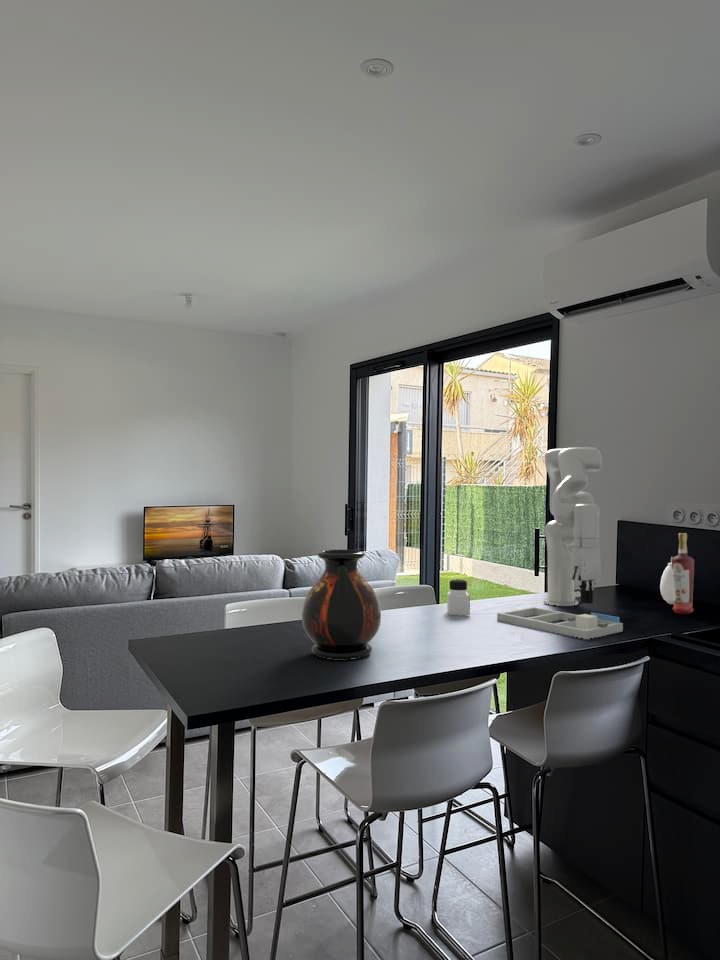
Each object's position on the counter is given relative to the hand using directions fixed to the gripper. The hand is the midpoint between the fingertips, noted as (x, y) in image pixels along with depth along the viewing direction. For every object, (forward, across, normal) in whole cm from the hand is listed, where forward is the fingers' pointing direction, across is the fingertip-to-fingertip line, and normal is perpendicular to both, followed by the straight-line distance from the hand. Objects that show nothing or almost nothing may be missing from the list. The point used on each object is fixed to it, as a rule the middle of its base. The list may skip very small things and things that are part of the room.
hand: (586, 602), depth 218 cm
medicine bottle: (+9, +11, -45) cm, 47 cm away
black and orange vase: (+10, +76, -24) cm, 80 cm away
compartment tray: (+9, 0, -11) cm, 14 cm away
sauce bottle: (+9, -65, -9) cm, 67 cm away
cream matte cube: (+9, 0, 0) cm, 9 cm away
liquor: (+9, -51, +3) cm, 52 cm away
